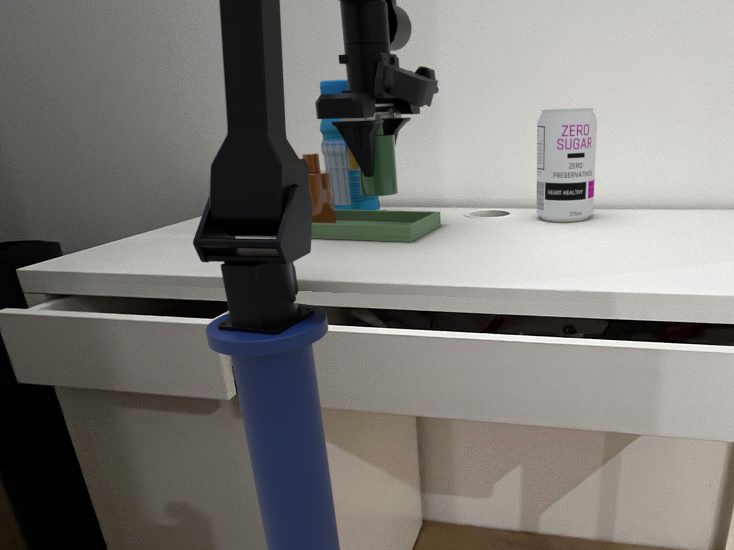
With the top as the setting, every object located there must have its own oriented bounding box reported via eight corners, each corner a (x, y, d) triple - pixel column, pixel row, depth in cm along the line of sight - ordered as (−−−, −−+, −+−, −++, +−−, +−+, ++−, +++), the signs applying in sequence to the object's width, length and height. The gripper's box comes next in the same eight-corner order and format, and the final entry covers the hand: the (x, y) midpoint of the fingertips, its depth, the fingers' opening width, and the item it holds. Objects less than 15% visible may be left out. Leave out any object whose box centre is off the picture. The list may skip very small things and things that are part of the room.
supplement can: (562, 211, 97) (564, 108, 92) (604, 217, 91) (609, 107, 86) (525, 218, 92) (525, 110, 87) (566, 225, 86) (570, 110, 81)
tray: (410, 242, 80) (409, 226, 79) (209, 234, 89) (206, 220, 88) (440, 225, 89) (440, 211, 89) (256, 220, 99) (254, 207, 98)
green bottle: (389, 196, 81) (382, 115, 78) (354, 196, 83) (346, 116, 79) (404, 191, 86) (398, 113, 82) (371, 190, 87) (364, 115, 84)
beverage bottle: (321, 218, 98) (304, 80, 90) (338, 209, 106) (324, 81, 98) (373, 218, 97) (361, 78, 89) (386, 209, 104) (376, 79, 97)
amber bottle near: (325, 230, 86) (316, 155, 83) (294, 229, 88) (284, 155, 84) (343, 223, 91) (335, 152, 87) (313, 222, 92) (304, 152, 88)
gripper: (395, 35, 67) (405, 183, 73) (452, 47, 83) (456, 167, 89) (305, 41, 70) (321, 183, 76) (377, 51, 87) (386, 167, 93)
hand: (377, 174), depth 83 cm, fingers closed on green bottle, 5 cm apart
